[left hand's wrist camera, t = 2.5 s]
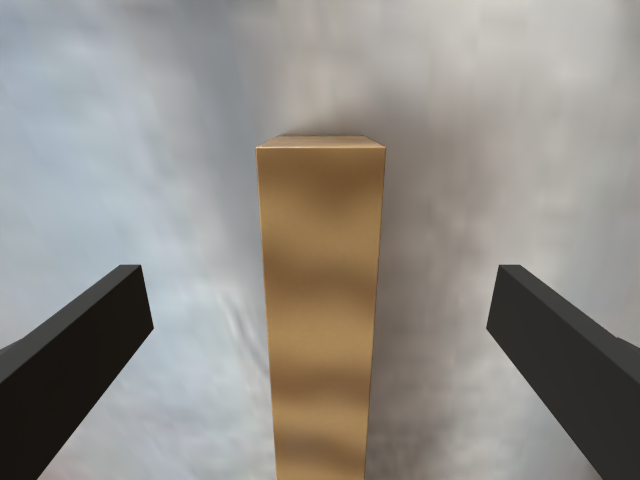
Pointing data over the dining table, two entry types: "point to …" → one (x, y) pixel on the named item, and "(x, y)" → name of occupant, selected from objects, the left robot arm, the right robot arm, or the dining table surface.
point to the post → (320, 297)
